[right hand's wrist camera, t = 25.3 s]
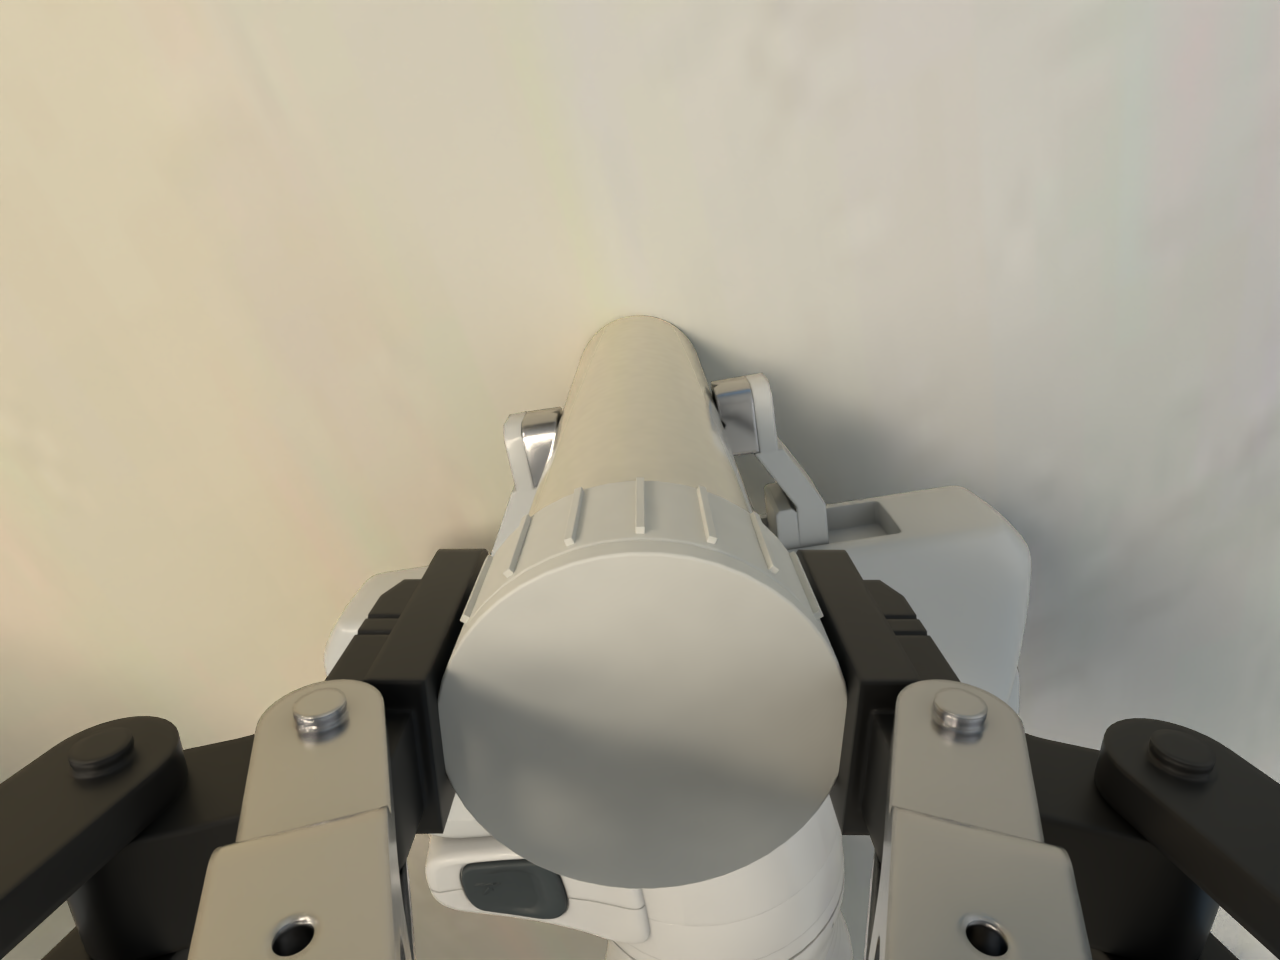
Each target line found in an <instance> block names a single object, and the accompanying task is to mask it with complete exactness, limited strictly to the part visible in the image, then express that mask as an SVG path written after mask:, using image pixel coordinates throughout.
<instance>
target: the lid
mask: <svg viewBox="0 0 1280 960" xmlns="http://www.w3.org/2000/svg"><path fill="white" fill-rule="evenodd" d="M822 617H823V613H822V611H821V609H820V606H819V604H818V602H817V600H816V597H815V595H814V593H813V590H812V588H811V586H810V583H809V581H808V579H807V577H806V574H805V572H804V570H803V567H802V565H801V563H800V560H799V558H798V556H797V554H796V553H795V551H793V552H791V553H789V552H788V551H787V549H786V548H785V547H784V545H783V544H782V543H781V542H780V540H779V539H778V538H777V537H776V536H775V535H774V534H773V533H772V532H771V531H770V530H769V529H768V528H767V527H766V526H765V525H764V524H763V523H762V521H761V518H760V516H759V514H757V513H756V512H755V511H753V512H752V513H751V514H750V513H748V512H747V511H746V510H744V509H743V508H741V507H739V506H737V505H735V504H734V503H732V502H730V501H728V500H726V499H724V498H722V497H719V496H717V495H714V494H712V493H709V492H707V490H706V487H703V486H700V485H699V486H698V488H694V487H690V486H686V485H682V484H676V483H669V482H661V481H644V477H636V481H625V482H616V483H608V484H604V485H600V486H595V487H591V488H587V489H584V490H583V489H582V487H579V488H576V489H574V493H573V494H571V495H568V496H565V497H563V498H561V499H559V500H557V501H555V502H553V503H552V504H550V505H548V506H546V507H544V508H542V509H541V510H540V511H538V512H537V513H535V514H534V515H533V516H531V517H530V516H529V515H528V514H526V515H525V516H524V517H523V518H522V519H521V522H520V525H519V527H518V528H517V529H516V530H515V531H514V532H513V533H512V534H511V535H509V537H508V538H507V539H506V540H505V542H504V543H503V544H502V545H501V547H500V548H499V549H498V550H497V552H496V553H495V555H494V556H493V557H492V556H490V555H488V556H487V557H486V559H485V561H484V563H483V566H482V568H481V570H480V573H479V575H478V578H477V580H476V582H475V585H474V587H473V590H472V592H471V595H470V597H469V599H468V602H467V604H466V607H465V609H464V611H463V614H462V616H461V619H460V621H461V622H463V623H464V625H463V627H462V630H461V632H460V635H459V637H458V640H457V642H456V645H455V647H454V650H453V652H452V655H451V657H450V660H449V662H448V665H447V667H446V670H445V672H444V675H443V677H442V680H441V685H440V689H439V694H438V711H439V721H440V729H441V737H442V746H443V754H444V762H445V769H446V773H447V776H448V778H449V780H450V782H451V785H452V787H453V789H454V790H455V792H456V794H457V795H458V797H459V798H460V800H461V802H462V803H463V805H464V806H465V808H466V809H467V810H468V811H469V812H470V814H471V815H472V816H473V817H474V818H475V820H476V821H477V822H478V823H479V824H480V825H481V826H482V827H483V828H484V829H485V830H486V831H487V832H488V833H489V834H491V835H492V836H493V837H494V838H495V839H496V840H497V841H499V842H500V843H501V844H503V845H504V846H506V847H507V848H508V849H510V850H511V851H513V852H514V853H515V854H517V855H519V856H521V857H523V858H524V859H526V860H528V861H530V862H531V863H533V864H535V865H537V866H540V867H542V868H544V869H547V870H549V871H551V872H554V873H556V874H559V875H562V876H565V877H568V878H572V879H575V880H578V881H582V882H587V883H592V884H597V885H602V886H609V887H619V888H628V889H655V888H666V887H677V886H683V885H688V884H693V883H699V882H703V881H706V880H710V879H713V878H717V877H720V876H723V875H726V874H729V873H731V872H733V871H736V870H738V869H741V868H743V867H746V866H748V865H750V864H751V863H753V862H755V861H757V860H759V859H761V858H763V857H764V856H766V855H768V854H769V853H771V852H772V851H774V850H775V849H777V848H778V847H780V846H781V845H782V844H784V843H785V842H787V841H788V840H789V839H790V838H791V837H792V836H794V835H795V834H796V833H797V832H798V831H799V830H800V829H801V828H803V827H804V826H805V824H806V823H807V822H808V821H809V820H810V819H811V818H812V816H813V815H814V814H815V813H816V812H817V811H818V810H819V808H820V807H821V805H822V804H823V802H824V801H825V799H826V798H827V796H828V795H829V793H830V792H831V790H832V788H833V786H834V784H835V781H836V779H837V777H838V773H839V765H840V757H841V749H842V741H843V733H844V724H845V716H846V708H847V687H846V682H845V679H844V677H843V674H842V671H841V668H840V666H839V663H838V660H837V658H836V655H835V653H834V651H833V648H832V646H831V644H830V641H829V639H828V637H827V634H826V632H825V629H824V627H823V625H822V622H821V620H820V618H822Z"/></svg>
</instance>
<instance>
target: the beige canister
mask: <svg viewBox="0 0 1280 960" xmlns="http://www.w3.org/2000/svg"><path fill="white" fill-rule="evenodd" d="M636 477H644V481H661V482H669V483H676V484H682V485H686V486H690V487H694V488H698V486H699V485H700V486H703V487H706V490H707V492H709V493H712V494H714V495H717V496H719V497H722V498H724V499H726V500H728V501H730V502H732V503H734V504H735V505H737V506H739V507H741V508H743V509H744V510H746V511H747V512H748V513H750V514H751V513H752V512H753V508H752V505H751V502H750V500H749V497H748V494H747V491H746V488H745V486H744V483H743V480H742V477H741V474H740V472H739V469H738V466H737V463H736V461H735V458H734V455H733V452H732V449H731V447H730V444H729V441H728V438H727V436H726V433H725V430H724V427H723V424H722V422H721V419H720V416H719V413H718V411H717V408H716V405H715V402H714V399H713V397H712V394H711V391H710V388H709V386H708V383H707V380H706V377H705V374H704V372H703V369H702V366H701V363H700V361H699V358H698V355H697V352H696V350H695V348H694V346H693V345H692V343H691V342H690V340H689V339H688V338H687V337H686V336H685V334H684V333H683V332H682V331H680V330H679V329H678V328H677V327H675V326H674V325H672V324H670V323H669V322H666V321H664V320H662V319H659V318H655V317H651V316H638V315H637V316H628V317H624V318H620V319H618V320H615V321H613V322H611V323H609V324H608V325H606V326H604V327H603V328H602V329H600V330H599V331H598V332H597V333H596V334H595V335H594V336H593V337H592V339H591V340H590V341H589V342H588V344H587V346H586V348H585V349H584V352H583V354H582V357H581V359H580V362H579V365H578V368H577V371H576V374H575V377H574V380H573V383H572V386H571V389H570V392H569V395H568V398H567V401H566V404H565V406H564V409H563V412H562V415H561V418H560V421H559V424H558V427H557V430H556V433H555V436H554V439H553V442H552V445H551V448H550V451H549V454H548V457H547V459H546V462H545V465H544V468H543V471H542V474H541V477H540V480H539V483H538V486H537V489H536V492H535V495H534V498H533V501H532V504H531V507H530V509H529V512H528V515H529V516H530V517H531V516H533V515H534V514H535V513H537V512H538V511H540V510H541V509H542V508H544V507H546V506H548V505H550V504H552V503H553V502H555V501H557V500H559V499H561V498H563V497H565V496H568V495H571V494H573V493H574V489H576V488H579V487H582V489H583V490H584V489H587V488H591V487H595V486H600V485H604V484H608V483H616V482H625V481H636Z"/></svg>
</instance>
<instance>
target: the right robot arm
mask: <svg viewBox="0 0 1280 960" xmlns="http://www.w3.org/2000/svg"><path fill="white" fill-rule="evenodd" d="M796 554H797V556H798V558H799V560H800V563H801V565H802V567H803V570H804V572H805V574H806V577H807V579H808V581H809V583H810V586H811V588H812V590H813V593H814V595H815V597H816V600H817V602H818V604H819V606H820V609H821V611H822V613H823V617H822V618H820V620H821V622H822V625H823V627H824V629H825V632H826V634H827V637H828V639H829V641H830V644H831V646H832V648H833V651H834V653H835V655H836V658H837V660H838V663H839V666H840V668H841V671H842V674H843V677H844V679H845V682H846V687H847V708H846V716H845V724H844V733H843V741H842V749H841V757H840V765H839V773H838V777H837V779H836V781H835V784H834V786H833V788H832V790H831V792H830V793H829V795H830V798H831V802H832V805H833V808H834V811H835V814H836V817H837V821H838V824H839V827H840V830H841V833H842V835H870V837H871V840H872V843H873V845H874V848H875V851H874V858H873V865H872V872H871V881H870V893H869V904H868V916H867V928H866V940H865V951H864V960H1239V959H1238V958H1237V957H1235V956H1234V955H1233V954H1232V953H1231V952H1230V951H1229V950H1228V949H1227V948H1226V947H1225V946H1224V945H1223V944H1222V943H1221V942H1220V941H1219V940H1218V939H1217V938H1216V937H1215V936H1213V935H1212V934H1211V933H1210V930H1211V927H1212V924H1213V922H1214V919H1215V916H1216V914H1217V911H1218V908H1219V906H1221V907H1222V908H1223V909H1224V910H1225V911H1226V912H1227V913H1228V914H1230V915H1231V916H1232V917H1233V918H1234V919H1235V920H1236V921H1237V922H1238V923H1239V924H1241V925H1242V926H1243V927H1244V928H1245V929H1246V930H1247V931H1248V932H1249V933H1250V934H1252V935H1253V936H1254V937H1255V938H1256V939H1257V940H1258V941H1259V942H1260V943H1262V944H1263V945H1264V946H1265V947H1266V948H1267V949H1268V950H1269V951H1270V952H1271V953H1273V954H1274V955H1275V956H1276V957H1277V958H1278V959H1279V960H1280V784H1279V783H1277V782H1276V781H1274V780H1273V779H1272V778H1270V777H1269V776H1267V775H1266V774H1264V773H1263V772H1262V771H1260V770H1259V769H1257V768H1256V767H1254V766H1253V765H1252V764H1250V763H1249V762H1247V761H1246V760H1244V759H1243V758H1241V757H1240V756H1239V755H1237V754H1236V753H1234V752H1233V751H1231V750H1230V749H1228V748H1227V747H1225V746H1224V745H1222V744H1221V743H1219V742H1217V741H1215V740H1213V739H1212V738H1210V737H1208V736H1206V735H1203V734H1201V733H1199V732H1197V731H1194V730H1192V729H1189V728H1186V727H1183V726H1180V725H1177V724H1173V723H1170V722H1165V721H1160V720H1154V719H1145V718H1133V719H1125V720H1121V721H1118V722H1116V723H1114V724H1112V725H1111V726H1110V727H1109V728H1108V729H1107V730H1106V732H1105V735H1104V738H1103V742H1102V746H1101V750H1100V751H1099V750H1094V749H1089V748H1085V747H1080V746H1075V745H1070V744H1065V743H1061V742H1056V741H1051V740H1047V739H1043V738H1039V737H1035V736H1032V735H1029V734H1026V733H1025V731H1024V727H1023V724H1022V721H1021V719H1020V718H1019V716H1018V715H1017V713H1016V712H1015V711H1014V710H1013V709H1012V708H1011V707H1010V706H1009V705H1008V704H1006V703H1005V702H1004V701H1002V700H1001V699H1000V698H998V697H997V696H995V695H993V694H991V693H989V692H987V691H985V690H983V689H980V688H978V687H975V686H972V685H969V684H966V683H962V682H960V680H959V678H958V677H957V675H956V674H955V672H954V671H953V669H952V668H951V666H950V665H949V663H948V662H947V660H946V659H945V657H944V656H943V654H942V653H941V651H940V650H939V648H938V647H937V645H936V644H935V642H934V641H933V639H932V638H931V636H930V635H927V630H926V629H925V627H924V626H923V624H922V623H921V621H920V620H919V619H917V615H916V614H915V612H914V611H913V609H912V608H911V606H910V605H909V603H908V602H907V600H906V599H905V597H904V596H903V595H901V594H900V593H898V592H897V591H895V590H894V589H892V588H891V587H890V586H888V585H887V584H885V583H884V582H882V581H881V580H863V579H862V577H861V575H860V574H859V572H858V570H857V568H856V567H855V565H854V563H853V562H852V560H851V558H850V556H849V555H848V553H847V552H846V551H845V550H798V551H797V552H796ZM487 556H488V552H487V550H486V549H439V550H438V551H437V553H436V554H435V556H434V558H433V560H432V561H431V563H430V565H429V566H428V568H427V570H426V572H425V573H424V575H423V577H422V579H404V580H402V581H401V582H400V583H398V584H397V585H395V586H394V587H392V588H391V589H389V590H388V591H386V592H385V593H383V594H382V595H381V596H380V597H379V599H378V600H377V602H376V603H375V605H374V606H373V608H372V609H371V611H370V612H369V614H368V618H365V620H364V621H363V623H362V625H361V626H360V628H359V629H358V634H357V635H354V637H353V638H352V640H351V641H350V643H349V644H348V646H347V647H346V649H345V651H344V652H343V654H342V655H341V657H340V658H339V660H338V661H337V663H336V664H335V666H334V667H333V669H332V670H331V672H330V673H329V675H328V676H327V678H326V680H325V681H323V682H318V683H314V684H311V685H308V686H305V687H302V688H300V689H297V690H295V691H293V692H291V693H289V694H287V695H285V696H283V697H282V698H280V699H279V700H278V701H276V702H275V703H274V704H272V705H271V706H270V707H269V708H268V709H267V710H266V711H265V712H264V713H263V715H262V716H261V718H260V719H259V721H258V724H257V727H256V731H255V734H253V735H250V736H246V737H242V738H238V739H234V740H229V741H224V742H219V743H215V744H210V745H205V746H200V747H195V748H191V749H186V750H183V748H182V745H181V741H180V737H179V733H178V731H177V728H176V727H175V726H174V725H173V724H172V723H171V722H169V721H167V720H165V719H162V718H158V717H151V716H137V717H128V718H122V719H117V720H113V721H109V722H106V723H102V724H99V725H96V726H94V727H91V728H88V729H86V730H84V731H82V732H79V733H77V734H75V735H73V736H71V737H69V738H67V739H66V740H64V741H62V742H61V743H59V744H58V745H56V746H54V747H53V748H51V749H50V750H49V751H47V752H46V753H44V754H43V755H41V756H40V757H39V758H37V759H36V760H34V761H33V762H31V763H30V764H29V765H27V766H26V767H24V768H23V769H21V770H20V771H18V772H17V773H16V774H14V775H13V776H11V777H10V778H8V779H7V780H6V781H4V782H3V783H1V784H0V960H1V959H2V958H3V957H4V956H5V955H6V954H8V953H9V952H10V951H11V950H12V949H13V948H14V947H15V946H16V945H17V944H19V943H20V942H21V941H22V940H23V939H24V938H25V937H26V936H27V935H28V934H30V933H31V932H32V931H33V930H34V929H35V928H36V927H37V926H38V925H39V924H41V923H42V922H43V921H44V920H45V919H46V918H47V917H48V916H49V915H50V914H52V913H53V912H54V911H55V910H56V909H57V908H58V907H59V906H60V905H61V904H63V903H64V902H65V901H66V900H67V902H68V905H69V908H70V910H71V913H72V916H73V918H74V921H75V924H76V927H75V928H74V929H73V930H72V931H71V932H70V933H69V934H68V935H67V936H66V937H64V938H63V939H62V940H61V941H60V942H59V943H58V944H57V945H56V946H55V947H54V948H53V949H52V950H51V951H50V952H49V953H48V954H47V955H46V956H45V957H44V958H42V959H41V960H416V951H415V940H414V928H413V916H412V905H411V893H410V881H409V872H408V865H407V857H408V854H409V851H410V848H411V845H412V843H413V840H414V837H415V834H443V832H444V829H445V826H446V822H447V819H448V816H449V813H450V809H451V806H452V803H453V800H454V797H455V793H456V792H455V790H454V789H453V787H452V785H451V782H450V780H449V778H448V776H447V773H446V769H445V762H444V754H443V746H442V737H441V729H440V721H439V711H438V694H439V689H440V685H441V680H442V677H443V675H444V672H445V670H446V667H447V665H448V662H449V660H450V657H451V655H452V652H453V650H454V647H455V645H456V642H457V640H458V637H459V635H460V632H461V630H462V627H463V625H464V623H463V622H461V621H460V619H461V616H462V614H463V611H464V609H465V607H466V604H467V602H468V599H469V597H470V595H471V592H472V590H473V587H474V585H475V582H476V580H477V578H478V575H479V573H480V570H481V568H482V566H483V563H484V561H485V559H486V557H487Z"/></svg>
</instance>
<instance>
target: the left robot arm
mask: <svg viewBox="0 0 1280 960" xmlns="http://www.w3.org/2000/svg"><path fill="white" fill-rule="evenodd" d="M711 390H712V397H713V399H714V402H715V405H716V408H717V411H718V413H719V416H720V419H721V422H722V424H723V427H724V430H725V433H726V436H727V438H728V441H729V444H730V447H731V449H732V452H733V455H734V456H736V455H743V454H751V453H754V454H755V456H756V457H757V458H758V460H759V461H760V462H761V463H762V465H763V466H764V467H765V468H766V470H767V471H768V472H769V473H770V475H771V476H772V477H773V478H774V480H775V481H776V482H777V483H770V484H767V485H766V486H765V487H764V493H765V503H766V512H767V514H762V515H759V516H760V518H761V521H762V523H763V524H764V525H765V526H766V527H767V528H768V529H769V530H770V531H771V532H772V533H773V534H774V535H775V536H776V537H777V538H778V539H779V540H780V542H781V543H782V544H783V545H784V547H785V548H786V549H787V551H788V552H789V553H791V552H793V551H795V553H796V552H797V551H798V550H845V551H846V552H847V553H848V555H849V556H850V558H851V560H852V562H853V563H854V565H855V567H856V568H857V570H858V572H859V574H860V575H861V577H862V579H863V580H881V581H882V582H884V583H885V584H887V585H888V586H890V587H891V588H892V589H894V590H895V591H897V592H898V593H900V594H901V595H903V596H904V597H905V599H906V600H907V602H908V603H909V605H910V606H911V608H912V609H913V611H914V612H915V614H916V615H917V619H919V620H920V621H921V623H922V624H923V626H924V627H925V629H926V630H927V635H930V636H931V638H932V639H933V641H934V642H935V644H936V645H937V647H938V648H939V650H940V651H941V653H942V654H943V656H944V657H945V659H946V660H947V662H948V663H949V665H950V666H951V668H952V669H953V671H954V672H955V674H956V675H957V677H958V678H959V680H960V682H962V683H966V684H969V685H972V686H975V687H978V688H980V689H983V690H985V691H987V692H989V693H991V694H993V695H995V696H997V697H998V698H1000V699H1001V700H1002V701H1004V702H1005V703H1006V704H1008V705H1009V706H1010V707H1011V708H1012V709H1013V710H1014V711H1015V712H1016V713H1017V715H1018V714H1019V691H1020V678H1019V671H1018V661H1019V657H1020V652H1021V647H1022V642H1023V636H1024V630H1025V624H1026V617H1027V610H1028V602H1029V592H1030V582H1031V555H1030V551H1029V548H1028V546H1027V544H1026V542H1025V541H1024V539H1023V538H1022V536H1021V535H1020V534H1019V533H1018V531H1017V530H1016V529H1015V528H1014V527H1013V526H1012V525H1011V524H1010V523H1009V522H1008V521H1007V520H1006V519H1005V518H1004V517H1003V516H1002V515H1001V514H1000V513H999V512H998V511H997V510H995V509H994V508H993V507H992V506H990V505H989V504H988V503H986V502H985V501H983V500H982V499H981V498H979V497H978V496H976V495H975V494H974V493H972V492H971V491H970V490H968V489H966V488H964V487H961V486H945V487H938V488H931V489H925V490H918V491H912V492H905V493H899V494H892V495H886V496H880V497H873V498H867V499H860V500H853V501H847V502H840V503H834V504H827V505H826V503H825V502H824V500H823V498H822V497H821V495H820V493H819V492H818V490H817V489H816V487H815V485H814V484H813V482H812V480H811V479H810V477H809V475H808V474H807V473H806V472H805V470H804V469H803V468H802V467H801V465H800V464H799V463H798V462H797V460H796V459H795V458H794V457H793V455H792V454H791V453H790V452H789V450H788V449H787V448H786V447H785V445H784V444H783V443H782V442H781V440H780V439H779V438H778V437H777V433H776V424H775V415H774V405H773V397H772V392H771V388H770V384H769V381H768V380H767V378H766V377H765V376H764V374H763V373H758V374H752V375H746V376H740V377H734V378H729V379H723V380H717V381H712V382H711ZM562 412H563V411H562V408H561V407H555V408H549V409H542V410H535V411H528V412H526V411H525V412H520V413H516V414H511V415H509V417H508V419H507V420H506V422H505V424H504V441H505V446H506V451H507V455H508V459H509V463H510V467H511V471H512V475H513V479H514V484H515V486H514V488H513V490H512V493H511V496H510V499H509V502H508V505H507V508H506V511H505V514H504V517H503V520H502V523H501V526H500V529H499V532H498V535H497V538H496V541H495V544H494V547H493V550H492V553H491V556H492V557H493V556H494V555H495V553H496V552H497V550H498V549H499V548H500V547H501V545H502V544H503V543H504V542H505V540H506V539H507V538H508V537H509V535H511V534H512V533H513V532H514V531H515V530H516V529H517V528H518V527H519V525H520V522H521V519H522V518H523V517H524V516H525V515H526V514H528V512H529V509H530V507H531V504H532V501H533V498H534V495H535V492H536V489H537V486H538V483H539V480H540V477H541V474H542V471H543V468H544V465H545V462H546V459H547V457H548V454H549V451H550V448H551V445H552V442H553V439H554V436H555V433H556V430H557V427H558V424H559V421H560V418H561V415H562ZM427 568H428V566H424V567H417V568H411V569H404V570H397V571H390V572H384V573H380V574H376V575H374V576H372V577H371V578H369V579H368V580H367V581H366V582H365V583H364V584H363V585H362V586H361V588H360V589H359V590H358V592H357V593H356V594H355V595H354V597H353V598H352V599H351V601H350V602H349V603H348V605H347V606H346V607H345V609H344V610H343V612H342V614H341V615H340V617H339V619H338V620H337V622H336V623H335V625H334V627H333V629H332V631H331V633H330V636H329V638H328V641H327V643H326V647H325V651H324V666H325V671H326V676H328V675H329V673H330V672H331V670H332V669H333V667H334V666H335V664H336V663H337V661H338V660H339V658H340V657H341V655H342V654H343V652H344V651H345V649H346V647H347V646H348V644H349V643H350V641H351V640H352V638H353V637H354V635H357V634H358V629H359V628H360V626H361V625H362V623H363V621H364V620H365V618H368V614H369V612H370V611H371V609H372V608H373V606H374V605H375V603H376V602H377V600H378V599H379V597H380V596H381V595H382V594H383V593H385V592H386V591H388V590H389V589H391V588H392V587H394V586H395V585H397V584H398V583H400V582H401V581H402V580H404V579H422V577H423V575H424V573H425V572H426V570H427ZM430 835H431V837H430V843H429V849H428V855H427V861H426V868H425V874H426V879H427V883H428V886H429V889H430V891H431V893H432V895H433V897H434V898H435V899H436V900H437V901H438V902H439V903H440V904H442V905H443V906H445V907H447V908H450V909H453V910H457V911H463V912H471V913H479V914H489V915H498V916H505V917H513V918H520V919H526V920H533V921H539V922H544V923H549V924H554V925H559V926H563V927H567V928H571V929H575V930H579V931H582V932H586V933H589V934H592V935H595V936H599V937H602V938H605V939H608V946H607V951H606V957H605V960H853V952H852V945H851V939H850V936H849V932H848V928H847V925H846V923H845V920H844V917H843V914H842V912H841V910H840V907H841V903H842V899H843V892H844V882H845V870H844V855H843V845H842V834H841V830H840V827H839V824H838V821H837V817H836V814H835V811H834V808H833V805H832V802H831V798H830V795H828V796H827V798H826V799H825V801H824V802H823V804H822V805H821V807H820V808H819V810H818V811H817V812H816V813H815V814H814V815H813V816H812V818H811V819H810V820H809V821H808V822H807V823H806V824H805V826H804V827H803V828H801V829H800V830H799V831H798V832H797V833H796V834H795V835H794V836H792V837H791V838H790V839H789V840H788V841H787V842H785V843H784V844H782V845H781V846H780V847H778V848H777V849H775V850H774V851H772V852H771V853H769V854H768V855H766V856H764V857H763V858H761V859H759V860H757V861H755V862H753V863H751V864H750V865H748V866H746V867H743V868H741V869H738V870H736V871H733V872H731V873H729V874H726V875H723V876H720V877H717V878H713V879H710V880H706V881H703V882H699V883H693V884H688V885H683V886H677V887H666V888H655V889H628V888H619V887H609V886H602V885H597V884H592V883H587V882H582V881H578V880H575V879H572V878H568V877H565V876H562V875H559V874H556V873H554V872H551V871H549V870H547V869H544V868H542V867H540V866H537V865H535V864H533V863H531V862H530V861H528V860H526V859H524V858H523V857H521V856H519V855H517V854H515V853H514V852H513V851H511V850H510V849H508V848H507V847H506V846H504V845H503V844H501V843H500V842H499V841H497V840H496V839H495V838H494V837H493V836H492V835H491V834H489V833H488V832H487V831H486V830H485V829H484V828H483V827H482V826H481V825H480V824H479V823H478V822H477V821H476V820H475V818H474V817H473V816H472V815H471V814H470V812H469V811H468V810H467V809H466V808H465V806H464V805H463V803H462V802H461V800H460V798H459V797H458V795H457V794H456V793H455V797H454V800H453V803H452V806H451V809H450V813H449V816H448V819H447V822H446V826H445V829H444V832H443V834H430Z"/></svg>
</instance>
